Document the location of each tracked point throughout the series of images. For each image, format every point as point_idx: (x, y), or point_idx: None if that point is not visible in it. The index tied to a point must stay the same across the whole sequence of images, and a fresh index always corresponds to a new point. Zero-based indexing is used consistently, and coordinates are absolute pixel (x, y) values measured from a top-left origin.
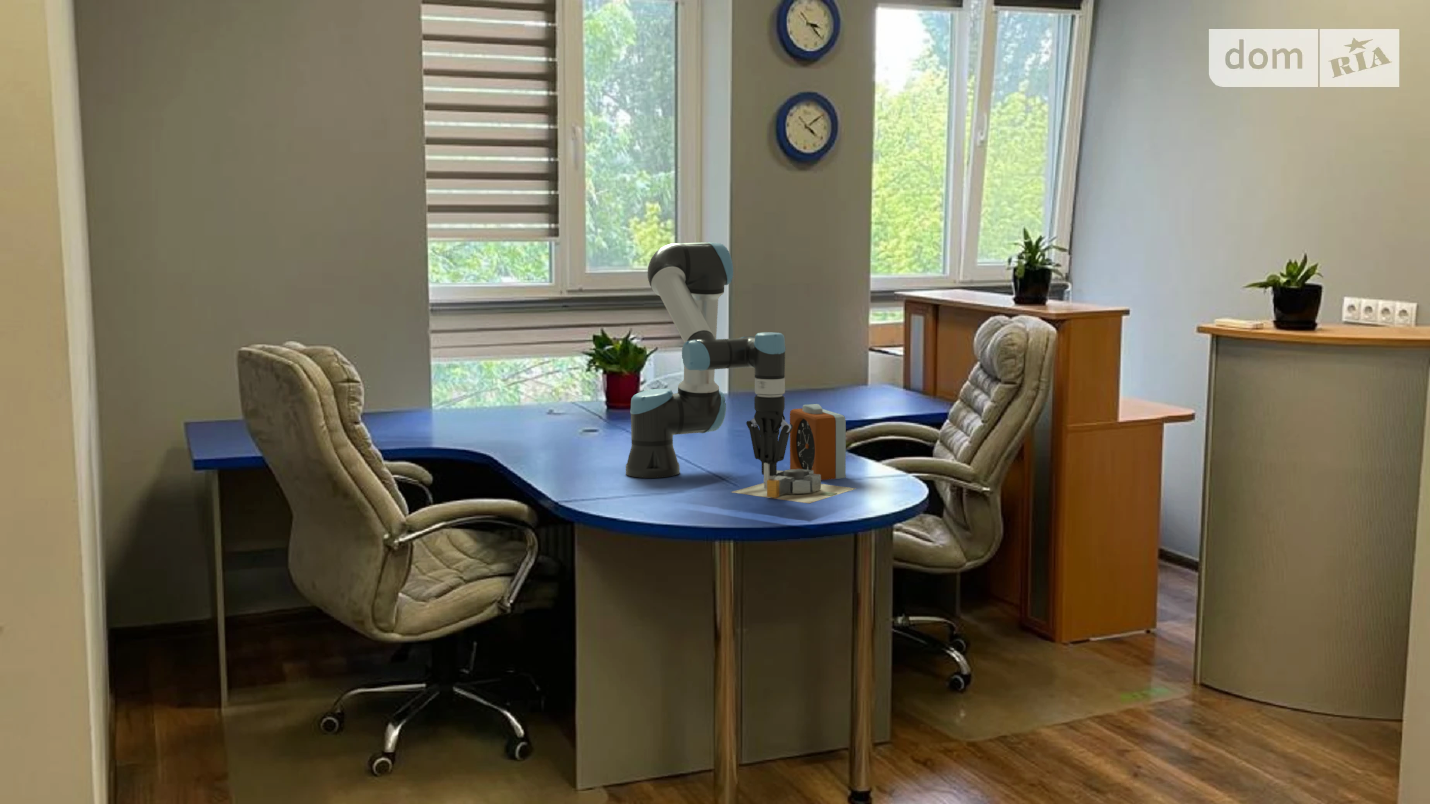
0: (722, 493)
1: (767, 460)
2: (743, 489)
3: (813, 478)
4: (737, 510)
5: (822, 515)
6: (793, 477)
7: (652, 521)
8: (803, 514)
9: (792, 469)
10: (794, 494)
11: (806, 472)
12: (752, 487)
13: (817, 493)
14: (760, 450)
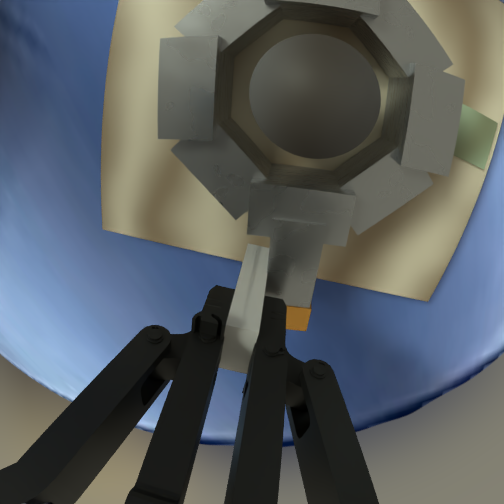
0: (59, 170)
1: (220, 354)
2: (110, 171)
3: (448, 162)
4: None
5: (457, 332)
6: (353, 205)
7: (146, 424)
8: (411, 341)
9: (284, 47)
10: None
11: (360, 13)
12: (117, 119)
13: None
14: (136, 368)
